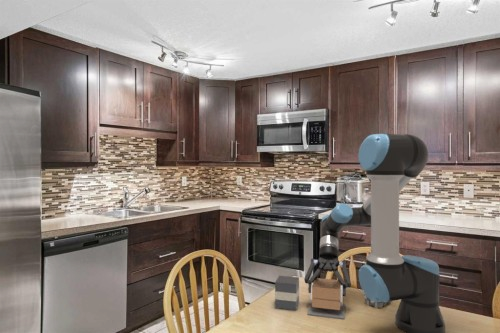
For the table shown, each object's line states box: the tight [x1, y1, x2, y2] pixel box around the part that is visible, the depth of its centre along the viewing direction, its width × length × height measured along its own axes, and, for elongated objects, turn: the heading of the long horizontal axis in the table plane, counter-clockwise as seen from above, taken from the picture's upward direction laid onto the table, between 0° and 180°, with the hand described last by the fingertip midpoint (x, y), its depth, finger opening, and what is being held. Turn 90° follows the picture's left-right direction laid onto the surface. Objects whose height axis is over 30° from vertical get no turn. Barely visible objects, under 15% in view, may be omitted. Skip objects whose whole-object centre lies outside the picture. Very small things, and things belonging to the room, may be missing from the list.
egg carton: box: [363, 294, 391, 309], centre depth 138 cm, size 11×8×4 cm
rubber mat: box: [307, 301, 346, 320], centre depth 132 cm, size 13×13×1 cm
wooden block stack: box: [312, 277, 341, 310], centre depth 132 cm, size 10×10×8 cm
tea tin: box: [274, 275, 300, 312], centre depth 136 cm, size 8×8×10 cm
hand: (326, 302), depth 129 cm, fingers closed on wooden block stack, 10 cm apart
